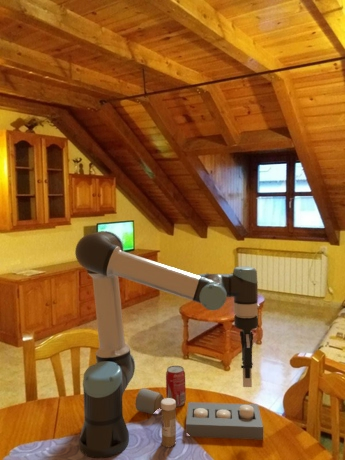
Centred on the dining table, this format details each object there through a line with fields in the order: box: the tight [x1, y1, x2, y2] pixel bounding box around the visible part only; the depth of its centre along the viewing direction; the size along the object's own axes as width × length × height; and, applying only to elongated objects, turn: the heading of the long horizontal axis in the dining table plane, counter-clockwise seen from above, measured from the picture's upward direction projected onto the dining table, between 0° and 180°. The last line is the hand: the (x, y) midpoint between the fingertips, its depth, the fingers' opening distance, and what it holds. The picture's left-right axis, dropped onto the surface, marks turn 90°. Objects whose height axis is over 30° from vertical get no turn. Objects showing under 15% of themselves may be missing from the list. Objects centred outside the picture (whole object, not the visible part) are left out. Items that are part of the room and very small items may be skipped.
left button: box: [194, 408, 208, 418], centre depth 130 cm, size 5×5×3 cm
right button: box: [239, 405, 254, 419], centre depth 129 cm, size 5×5×3 cm
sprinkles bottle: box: [161, 397, 177, 448], centre depth 120 cm, size 5×5×14 cm
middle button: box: [216, 410, 231, 419], centre depth 130 cm, size 5×5×3 cm
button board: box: [185, 401, 264, 440], centre depth 130 cm, size 24×14×4 cm, turn 85°
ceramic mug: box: [135, 387, 165, 415], centre depth 140 cm, size 11×8×8 cm
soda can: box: [165, 365, 187, 408], centre depth 145 cm, size 7×7×13 cm
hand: (247, 386), depth 128 cm, fingers closed
